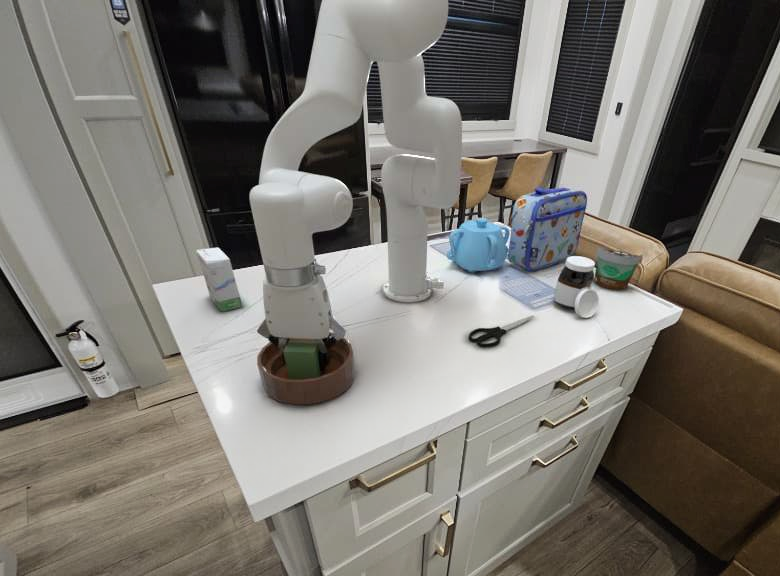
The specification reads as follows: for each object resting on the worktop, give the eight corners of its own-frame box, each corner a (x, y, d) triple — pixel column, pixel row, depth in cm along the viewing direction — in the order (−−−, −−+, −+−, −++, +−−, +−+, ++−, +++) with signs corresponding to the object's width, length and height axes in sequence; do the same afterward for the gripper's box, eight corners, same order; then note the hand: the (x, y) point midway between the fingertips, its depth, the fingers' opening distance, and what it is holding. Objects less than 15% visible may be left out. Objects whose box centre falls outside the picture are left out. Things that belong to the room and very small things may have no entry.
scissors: (521, 311, 103) (463, 337, 92) (521, 308, 102) (463, 334, 91) (542, 322, 99) (485, 351, 88) (543, 319, 98) (485, 347, 87)
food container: (586, 286, 118) (596, 251, 112) (588, 278, 122) (598, 244, 116) (631, 295, 114) (644, 260, 108) (632, 287, 119) (644, 253, 113)
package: (326, 358, 79) (322, 330, 75) (318, 380, 73) (313, 352, 70) (299, 357, 78) (294, 329, 75) (289, 379, 73) (283, 350, 69)
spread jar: (563, 293, 113) (573, 251, 106) (603, 306, 108) (617, 263, 101) (544, 309, 105) (554, 264, 98) (587, 324, 100) (600, 278, 93)
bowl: (360, 355, 84) (358, 331, 81) (347, 408, 71) (344, 383, 68) (279, 352, 83) (273, 328, 80) (250, 405, 70) (243, 379, 67)
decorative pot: (490, 281, 116) (497, 232, 108) (440, 267, 122) (443, 220, 113) (511, 263, 128) (519, 218, 120) (465, 251, 133) (469, 207, 125)
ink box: (243, 307, 97) (230, 258, 89) (221, 312, 94) (205, 262, 87) (231, 293, 102) (218, 245, 94) (210, 298, 99) (194, 249, 92)
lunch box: (525, 278, 119) (540, 197, 106) (498, 267, 125) (509, 188, 112) (578, 258, 135) (597, 185, 121) (552, 248, 141) (567, 177, 127)
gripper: (350, 264, 68) (358, 356, 79) (243, 259, 67) (267, 353, 78) (342, 284, 62) (352, 380, 73) (225, 278, 61) (253, 377, 72)
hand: (308, 365), depth 75 cm, fingers closed on package, 5 cm apart
